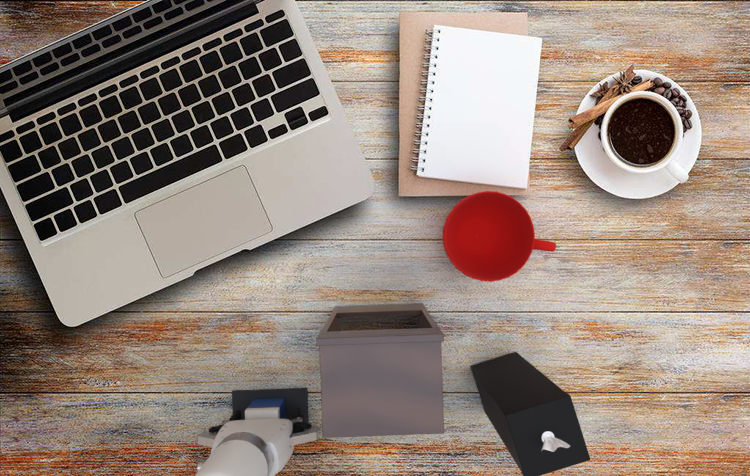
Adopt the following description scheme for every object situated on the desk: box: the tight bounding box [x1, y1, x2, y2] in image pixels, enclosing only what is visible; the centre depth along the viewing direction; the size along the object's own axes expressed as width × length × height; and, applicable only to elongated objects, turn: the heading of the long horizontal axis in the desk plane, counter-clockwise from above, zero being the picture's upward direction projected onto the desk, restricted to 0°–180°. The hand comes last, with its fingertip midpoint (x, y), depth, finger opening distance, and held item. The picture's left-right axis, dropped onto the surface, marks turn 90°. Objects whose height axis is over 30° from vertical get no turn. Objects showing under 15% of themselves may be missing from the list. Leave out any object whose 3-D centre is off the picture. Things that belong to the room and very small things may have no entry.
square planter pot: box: [315, 302, 445, 439], centre depth 74 cm, size 12×14×28 cm
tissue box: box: [469, 351, 591, 476], centre depth 74 cm, size 8×8×28 cm
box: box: [245, 398, 286, 420], centre depth 84 cm, size 5×5×6 cm
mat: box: [231, 387, 310, 434], centre depth 87 cm, size 8×12×1 cm, turn 92°
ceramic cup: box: [441, 190, 557, 283], centre depth 82 cm, size 13×17×10 cm
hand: (268, 418), depth 86 cm, fingers open, 9 cm apart
